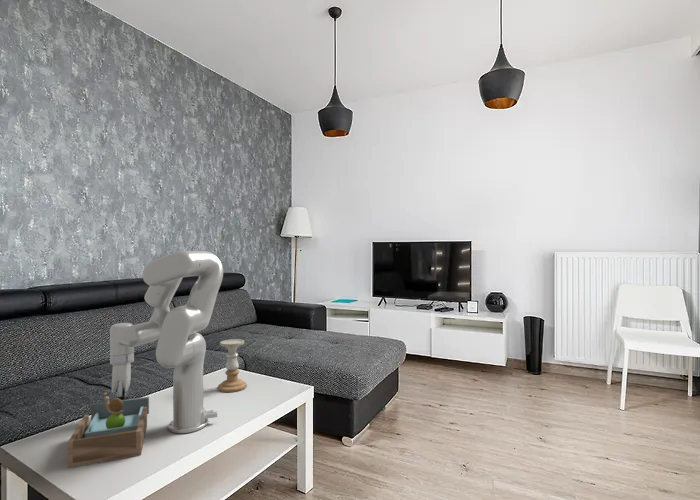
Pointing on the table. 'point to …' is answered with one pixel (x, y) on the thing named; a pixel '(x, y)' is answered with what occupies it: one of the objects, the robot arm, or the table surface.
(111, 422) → the snail figurine
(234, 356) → the candle holder
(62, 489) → the table surface
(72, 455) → the box
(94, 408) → the tray
